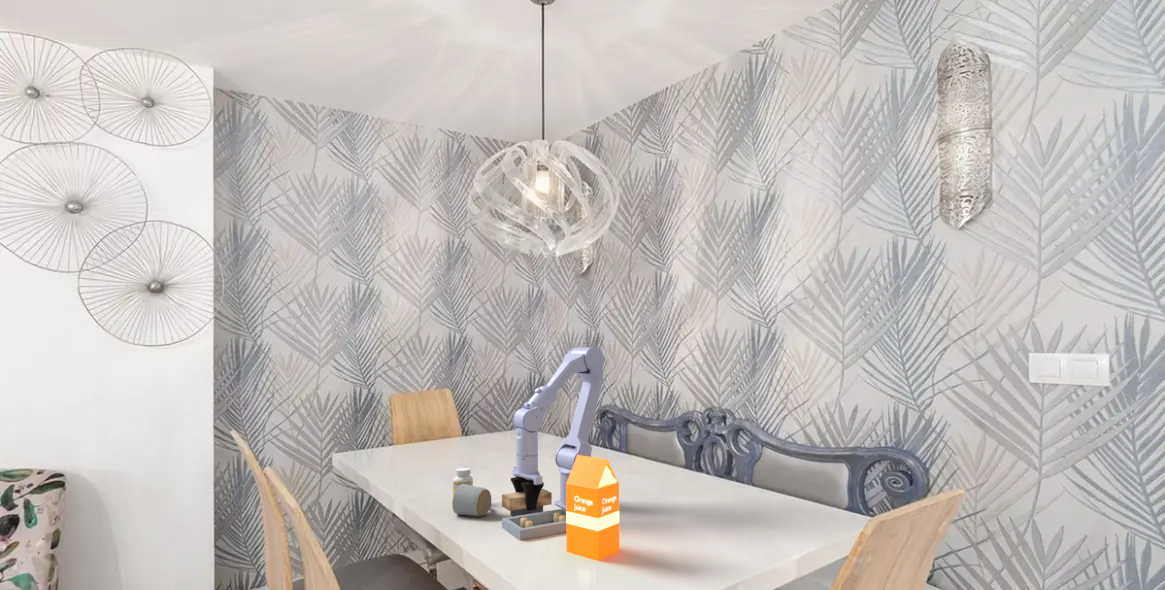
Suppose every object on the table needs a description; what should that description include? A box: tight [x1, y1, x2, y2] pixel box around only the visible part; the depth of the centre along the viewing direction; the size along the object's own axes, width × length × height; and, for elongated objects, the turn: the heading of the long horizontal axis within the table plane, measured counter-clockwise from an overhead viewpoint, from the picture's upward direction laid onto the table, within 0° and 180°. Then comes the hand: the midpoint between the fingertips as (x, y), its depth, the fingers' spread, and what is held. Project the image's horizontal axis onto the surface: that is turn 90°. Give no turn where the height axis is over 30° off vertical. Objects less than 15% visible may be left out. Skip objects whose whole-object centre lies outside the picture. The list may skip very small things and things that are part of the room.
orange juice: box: [566, 455, 620, 562], centre depth 129 cm, size 8×9×20 cm
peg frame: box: [501, 508, 567, 541], centre depth 144 cm, size 17×11×2 cm, turn 120°
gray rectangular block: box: [509, 506, 544, 517], centre depth 155 cm, size 8×3×2 cm, turn 120°
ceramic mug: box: [451, 484, 493, 518], centre depth 157 cm, size 11×8×8 cm
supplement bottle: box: [452, 467, 474, 496], centre depth 166 cm, size 5×5×10 cm
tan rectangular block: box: [501, 488, 553, 512], centre depth 155 cm, size 12×5×3 cm, turn 120°
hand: (526, 507), depth 155 cm, fingers closed on tan rectangular block, 5 cm apart
